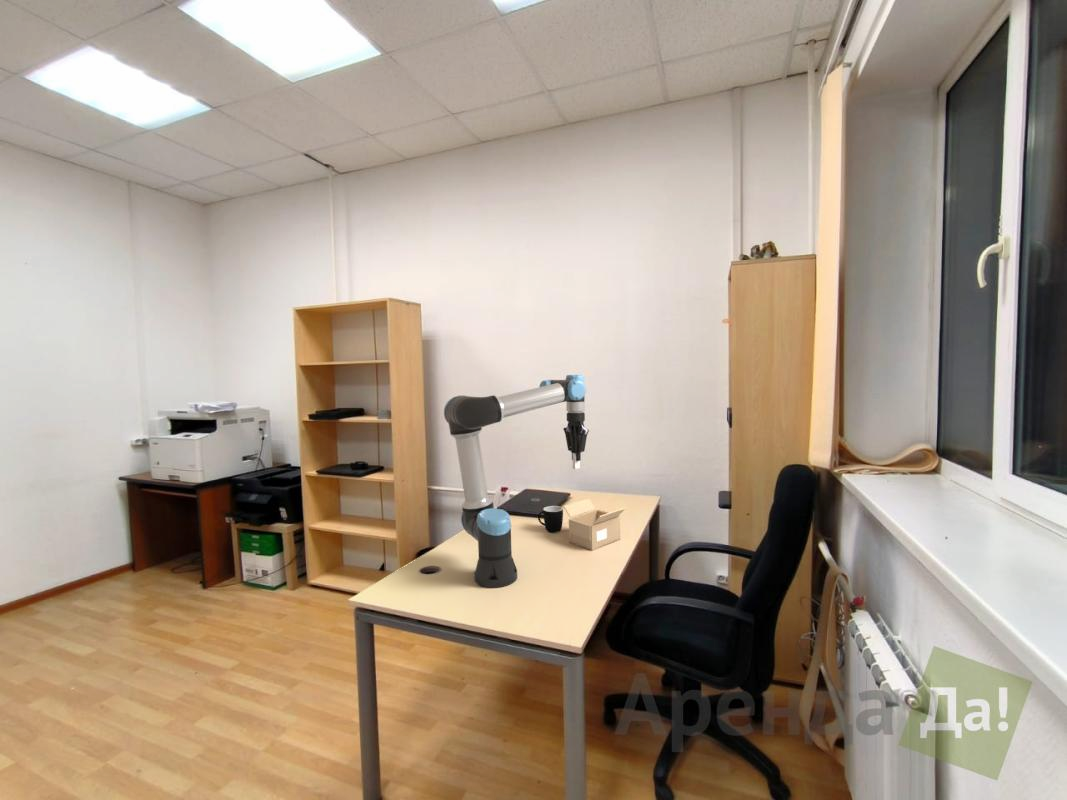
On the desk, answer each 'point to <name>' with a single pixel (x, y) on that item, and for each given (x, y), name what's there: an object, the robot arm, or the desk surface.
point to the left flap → (579, 507)
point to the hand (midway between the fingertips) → (576, 468)
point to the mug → (552, 518)
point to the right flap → (609, 515)
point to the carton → (593, 530)
